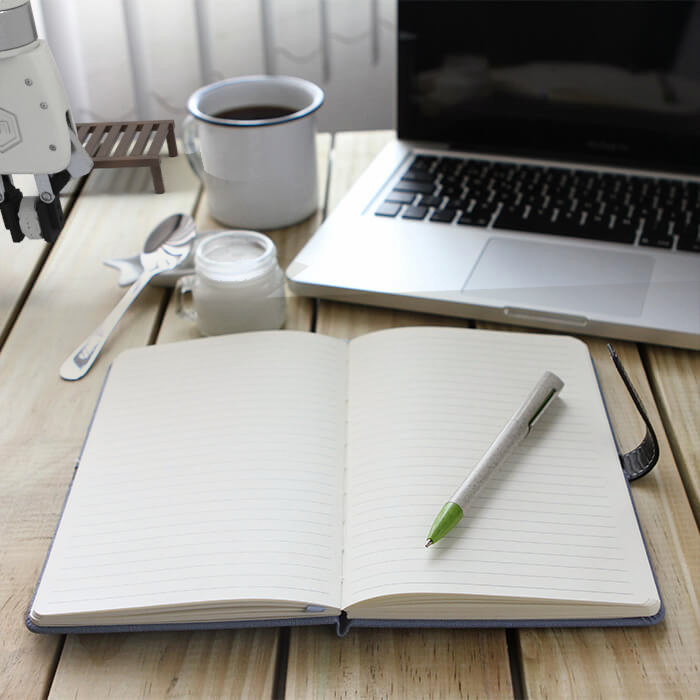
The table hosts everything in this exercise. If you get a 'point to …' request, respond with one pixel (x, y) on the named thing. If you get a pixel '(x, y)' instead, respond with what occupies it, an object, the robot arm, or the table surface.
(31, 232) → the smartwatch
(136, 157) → the rack
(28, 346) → the table surface
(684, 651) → the table surface
